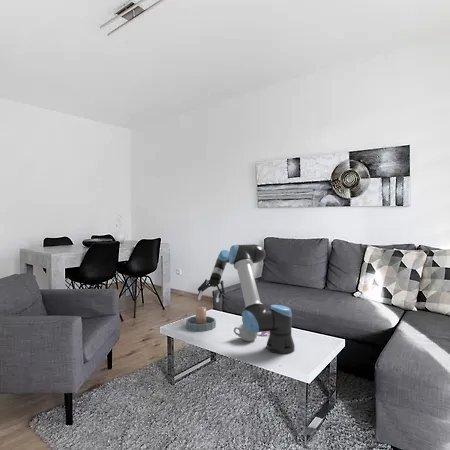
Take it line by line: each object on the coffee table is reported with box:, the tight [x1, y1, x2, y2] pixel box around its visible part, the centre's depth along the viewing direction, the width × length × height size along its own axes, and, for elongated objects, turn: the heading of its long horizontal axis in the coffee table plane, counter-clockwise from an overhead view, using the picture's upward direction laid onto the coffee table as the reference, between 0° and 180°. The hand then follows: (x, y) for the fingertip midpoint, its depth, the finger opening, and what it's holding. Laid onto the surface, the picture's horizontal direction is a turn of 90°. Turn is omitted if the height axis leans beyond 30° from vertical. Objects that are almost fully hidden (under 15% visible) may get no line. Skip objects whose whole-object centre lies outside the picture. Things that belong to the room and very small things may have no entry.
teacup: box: [233, 323, 258, 342], centre depth 200 cm, size 14×11×8 cm
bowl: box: [185, 315, 217, 332], centre depth 224 cm, size 19×19×4 cm
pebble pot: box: [195, 306, 207, 325], centre depth 224 cm, size 7×7×12 cm
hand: (207, 300), depth 233 cm, fingers open, 13 cm apart
